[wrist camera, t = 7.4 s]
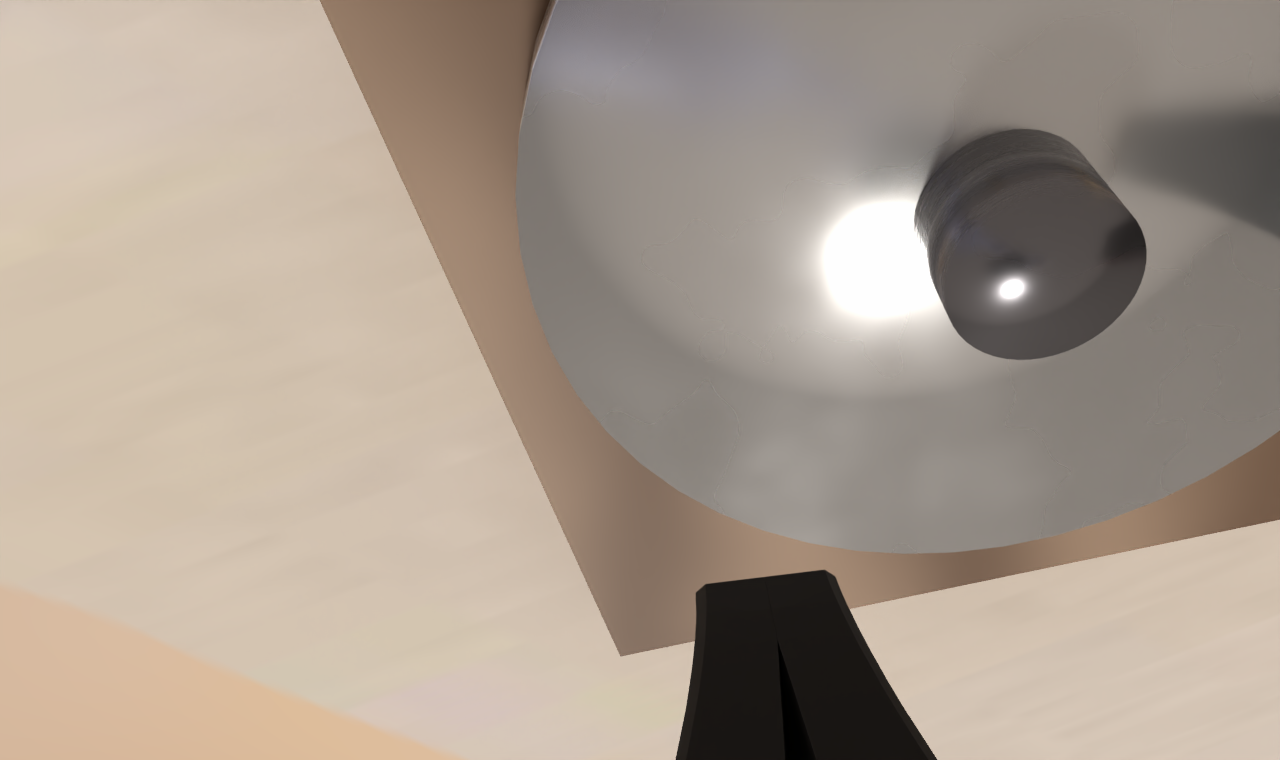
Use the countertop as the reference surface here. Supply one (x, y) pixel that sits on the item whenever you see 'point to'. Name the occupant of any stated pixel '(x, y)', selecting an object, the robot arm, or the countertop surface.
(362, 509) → the countertop surface
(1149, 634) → the countertop surface
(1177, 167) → the silver round platter
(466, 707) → the countertop surface
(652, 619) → the base plate
